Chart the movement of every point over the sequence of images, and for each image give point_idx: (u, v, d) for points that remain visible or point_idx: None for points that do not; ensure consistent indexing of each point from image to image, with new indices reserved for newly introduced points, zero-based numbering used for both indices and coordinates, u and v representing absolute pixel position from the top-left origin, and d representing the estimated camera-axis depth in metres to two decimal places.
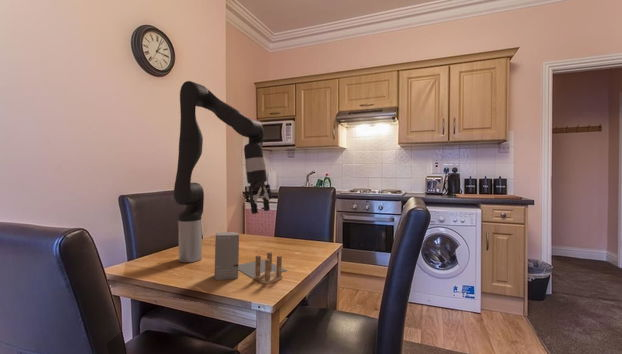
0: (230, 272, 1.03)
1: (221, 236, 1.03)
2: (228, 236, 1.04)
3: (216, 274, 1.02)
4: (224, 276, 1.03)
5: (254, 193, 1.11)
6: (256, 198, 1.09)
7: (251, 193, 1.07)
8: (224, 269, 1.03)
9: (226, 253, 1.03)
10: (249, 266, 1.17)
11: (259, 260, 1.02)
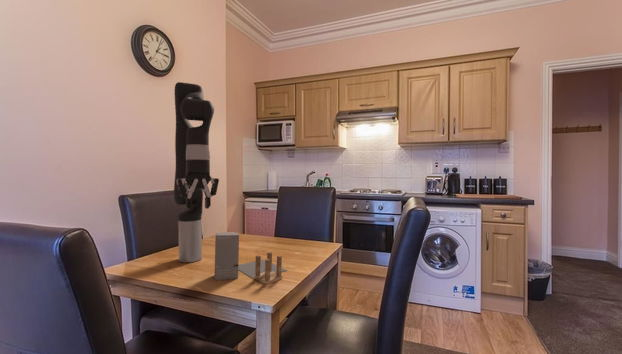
0: (230, 272, 1.03)
1: (221, 236, 1.03)
2: (228, 236, 1.04)
3: (216, 274, 1.02)
4: (224, 276, 1.03)
5: None
6: (190, 192, 0.97)
7: (181, 187, 0.95)
8: (224, 269, 1.03)
9: (226, 253, 1.03)
10: (249, 266, 1.17)
11: (259, 260, 1.02)
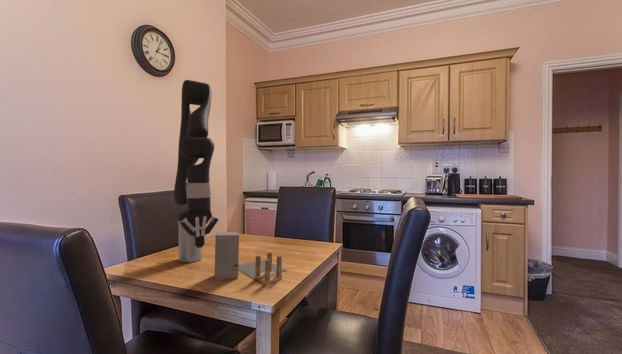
0: (230, 272, 1.03)
1: (221, 236, 1.03)
2: (228, 236, 1.04)
3: (216, 274, 1.02)
4: (224, 276, 1.03)
5: None
6: (197, 231, 0.98)
7: (187, 229, 0.96)
8: (224, 269, 1.03)
9: (226, 253, 1.03)
10: (249, 266, 1.17)
11: (259, 260, 1.02)
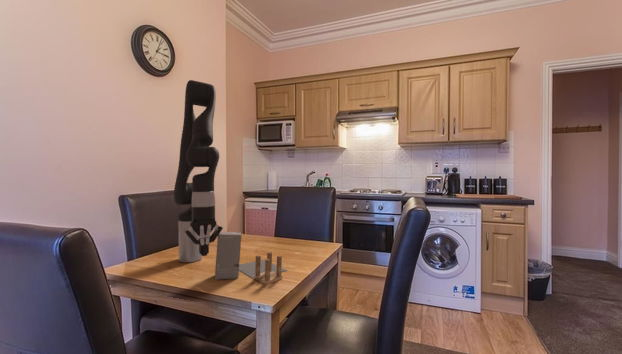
0: (231, 271, 1.03)
1: (224, 235, 1.03)
2: (231, 235, 1.04)
3: (217, 273, 1.02)
4: (225, 275, 1.03)
5: None
6: (202, 239, 0.99)
7: (191, 237, 0.97)
8: (225, 268, 1.03)
9: (227, 253, 1.03)
10: (249, 266, 1.17)
11: (259, 260, 1.02)
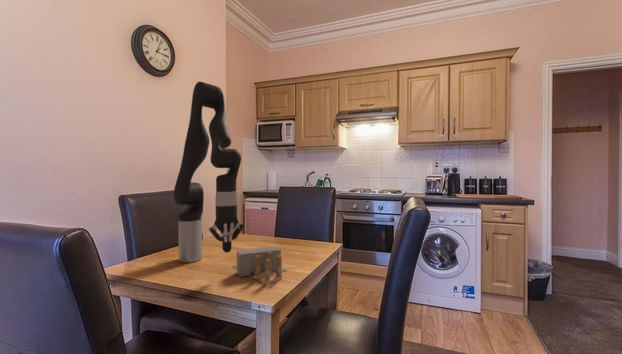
0: (246, 268, 1.05)
1: None
2: None
3: (244, 256, 1.05)
4: (242, 263, 1.05)
5: None
6: (225, 236, 1.05)
7: (216, 235, 1.03)
8: (249, 263, 1.06)
9: (264, 261, 1.08)
10: None
11: (259, 260, 1.02)
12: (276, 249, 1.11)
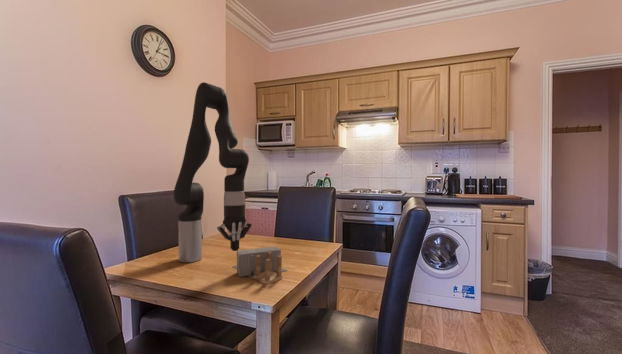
0: (246, 268, 1.05)
1: None
2: None
3: (244, 255, 1.05)
4: (243, 263, 1.05)
5: None
6: (233, 235, 1.07)
7: (224, 233, 1.04)
8: (249, 263, 1.06)
9: (264, 261, 1.08)
10: None
11: (259, 260, 1.02)
12: (276, 249, 1.11)
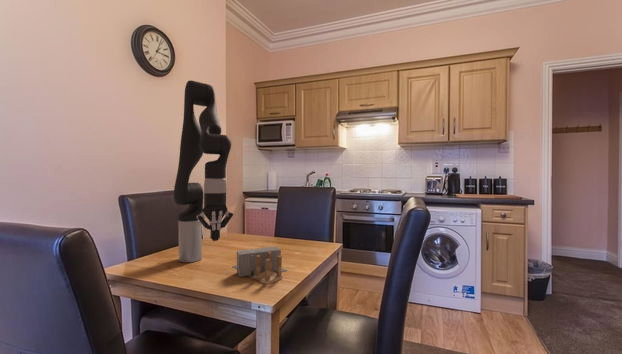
0: (246, 268, 1.05)
1: None
2: None
3: (244, 255, 1.05)
4: (243, 263, 1.05)
5: None
6: (213, 224, 1.02)
7: (203, 222, 1.00)
8: (249, 263, 1.06)
9: (264, 261, 1.08)
10: None
11: (259, 260, 1.02)
12: (276, 249, 1.11)
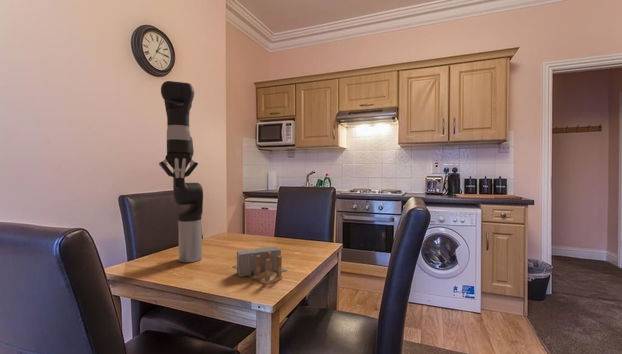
0: (246, 268, 1.05)
1: None
2: None
3: (244, 255, 1.05)
4: (242, 263, 1.05)
5: None
6: (177, 172, 1.02)
7: (166, 169, 1.00)
8: (249, 263, 1.06)
9: (264, 261, 1.08)
10: None
11: (259, 260, 1.02)
12: (276, 249, 1.11)
